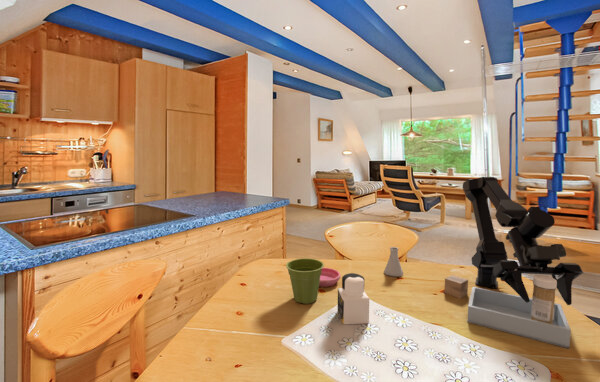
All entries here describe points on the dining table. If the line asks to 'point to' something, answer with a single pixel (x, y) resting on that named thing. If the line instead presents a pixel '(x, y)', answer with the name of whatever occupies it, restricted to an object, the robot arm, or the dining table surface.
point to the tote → (516, 317)
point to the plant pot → (305, 278)
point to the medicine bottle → (353, 300)
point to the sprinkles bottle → (543, 299)
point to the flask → (393, 264)
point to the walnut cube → (456, 286)
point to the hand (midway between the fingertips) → (548, 303)
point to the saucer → (328, 277)
